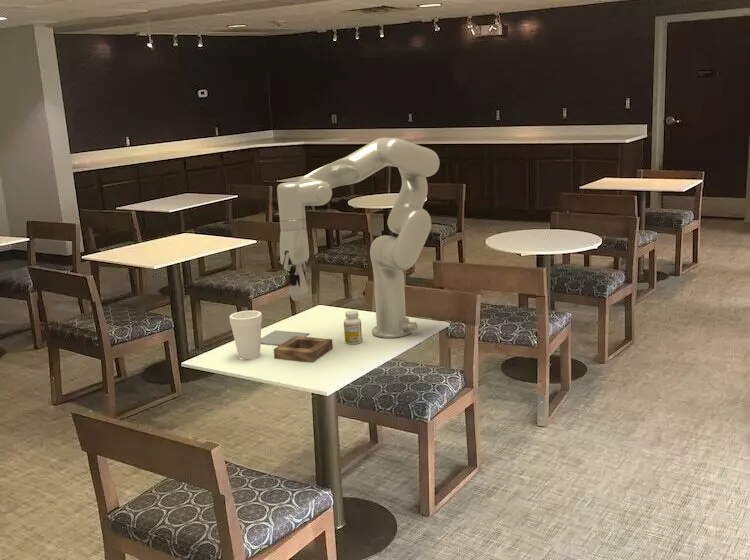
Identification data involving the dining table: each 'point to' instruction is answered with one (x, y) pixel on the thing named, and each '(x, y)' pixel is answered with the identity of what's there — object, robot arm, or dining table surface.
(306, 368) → the dining table surface
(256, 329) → the foam cup
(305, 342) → the block
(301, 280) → the salt shaker
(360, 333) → the supplement bottle
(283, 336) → the grey mat
